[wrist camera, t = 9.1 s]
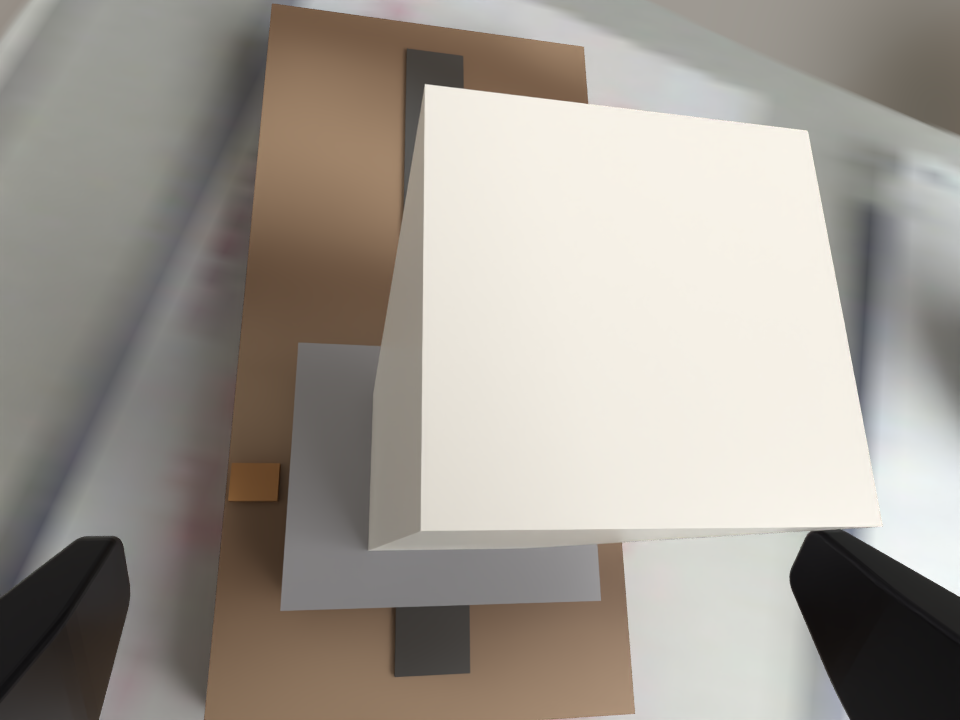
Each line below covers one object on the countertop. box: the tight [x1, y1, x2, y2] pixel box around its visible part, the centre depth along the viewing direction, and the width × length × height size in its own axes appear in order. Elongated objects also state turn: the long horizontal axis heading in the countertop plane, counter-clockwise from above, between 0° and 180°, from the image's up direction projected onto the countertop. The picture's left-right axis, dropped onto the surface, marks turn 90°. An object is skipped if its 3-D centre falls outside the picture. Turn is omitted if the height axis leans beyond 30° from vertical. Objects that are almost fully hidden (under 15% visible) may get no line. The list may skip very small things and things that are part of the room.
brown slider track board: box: [204, 4, 635, 720], centre depth 17 cm, size 18×9×2 cm, turn 1°
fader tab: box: [280, 84, 883, 611], centre depth 10 cm, size 5×6×11 cm
